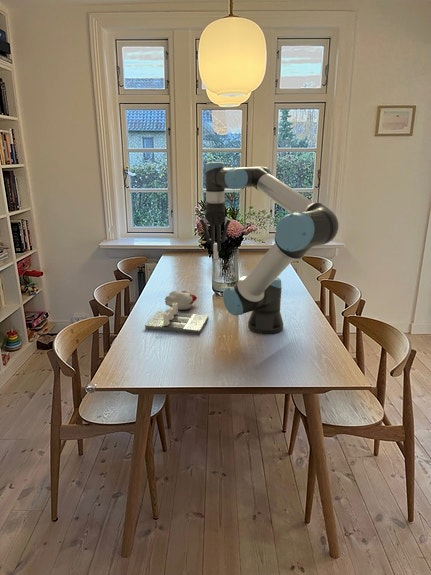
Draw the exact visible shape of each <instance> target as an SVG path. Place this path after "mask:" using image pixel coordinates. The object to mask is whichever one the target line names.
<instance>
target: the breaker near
mask: <svg viewBox="0 0 431 575" xmlns="http://www.w3.org/2000/svg"><path fill="white" fill-rule="evenodd" d="M163 320H164V325H167V326H168V325H169V323H170V321H169V313H164V314H163Z"/></svg>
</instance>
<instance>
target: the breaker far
mask: <svg viewBox="0 0 431 575" xmlns="http://www.w3.org/2000/svg"><path fill="white" fill-rule="evenodd" d="M172 308H173V310H174V315H176V314H177V313H179V310H178V303H173V304H172Z"/></svg>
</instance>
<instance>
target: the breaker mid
mask: <svg viewBox="0 0 431 575" xmlns="http://www.w3.org/2000/svg"><path fill="white" fill-rule="evenodd" d="M167 312H168V313H169V320H172V319H173V318H174V310H173V308H172V307H170V306H168V308H167Z"/></svg>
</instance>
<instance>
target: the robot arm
mask: <svg viewBox="0 0 431 575" xmlns="http://www.w3.org/2000/svg"><path fill="white" fill-rule="evenodd" d="M204 175H205V200H206V203H205V208H206V209H205V210H206V211H205V212H206V213H205V215H204V217H203V218H201V219H200V220H199V222H200V223H201V226H202V228H203V229H202V230H203V234H204V237H205V241H206V242H207V243H209V244H210V251H211V252H213V260H217V261H218V259H219V252H220V251H221V244H223V243H224V242H226V239H227V233H228V230H229V225H230V223H231V222H232V219H230V218H229V217H227V215H226V213H225V212H226V211H225V207H226V206H225V205H226V204H225V201H226V200H225V196H226V195H225V193H226V192H225V190H226V189H232V190H241V189H243V188H254V189H255V190H257V191H259V192H260V193H261V194H263V195H264V196H265V197H267V198H268V199H270V200H271V201H273V202H274V203H275V204H277V205H278V206H279V207H281V208H283V210H285V211H287V212H288V213H289V214H286V215H284V216H283V217H281V218H280V219H279V220H278V222H277V223H276V226H275V233H274V244H272V245H271V247H270V248H269V249H268V251H266V253H265V254H264V255H263V256H262V258H261V259H260V260H259V261H258V263H257V264H256V265H255V266H254V267H253V268H252V270H251V271H250V272H249V274H247V275H246V276H244V275H243V276H242V277H240V278H239V279H238V281H237V282H235V283H234V285H233V286H228V287H226V288H225V289H224V290H223V293H222V299H223V304H224V306H225V308H226V310H227V311H228V313H229V314H231V315H232V316H235V317H236V316H242V315H243V314H246V313H250V312H251V313H250V315H249V319H248V321H247V328H248V329H249V331H251V332H252V333H255V334H259V335H264V336H265V335H268V336H269V335H276V334H279V333H281V332H282V331H283V330H284V322H283V321H284V320H283V318H282V314H281V313H282V312H281V300H282V288H283V287H282V280H281V278H280V277H279V276H280V275H281V274H282V273H283V271H284V270H285V269H287V268H288V267H289V265H290V264H291V263H292V262H293V261H294V260H300V259H302V258H303V257H304V256H305V255H306V254H307V253H308V251H310V250H311V249H312V248H315V247H318V246H323V245H326V244H329V243H330V242H332V241H333V240H334V239H335V237H336V236H337V234H338V231H339V226H340V225H339V224H340V223H339V220H338V218H337V216H336V214H335V212H333V210H331V209H330V208H328V207H327V206H325V205H324V204H323V203H321V202H320V201H319V202H314V201H312V200H311V199H309V198H307V197H306V196H305V195H303V194H301V193H300V192H298V191H297V190H295V189H293V188H292V187H290V186H289V185H287V184H285V183H284V182H283V181H281V180H280V179H278V178H276V177H275V176H273V174H272V172H271V170H270V168H269V167H265V166H250V167H245V166H243V167H226V166H225V163H224V162H223V161H212V162H211V161H210V162H207V163H206V164H205V172H204ZM207 222H208V224H209V225H210V226H209V227H210V232H209V229H208V226H207ZM223 222H224V229H223V232H221V229H222V228H221V227H222V223H223ZM215 226H216V228H215ZM215 229H216V235H215ZM221 234H222V235H221ZM215 236H216V241H215ZM221 236H222V237H221Z"/></svg>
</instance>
